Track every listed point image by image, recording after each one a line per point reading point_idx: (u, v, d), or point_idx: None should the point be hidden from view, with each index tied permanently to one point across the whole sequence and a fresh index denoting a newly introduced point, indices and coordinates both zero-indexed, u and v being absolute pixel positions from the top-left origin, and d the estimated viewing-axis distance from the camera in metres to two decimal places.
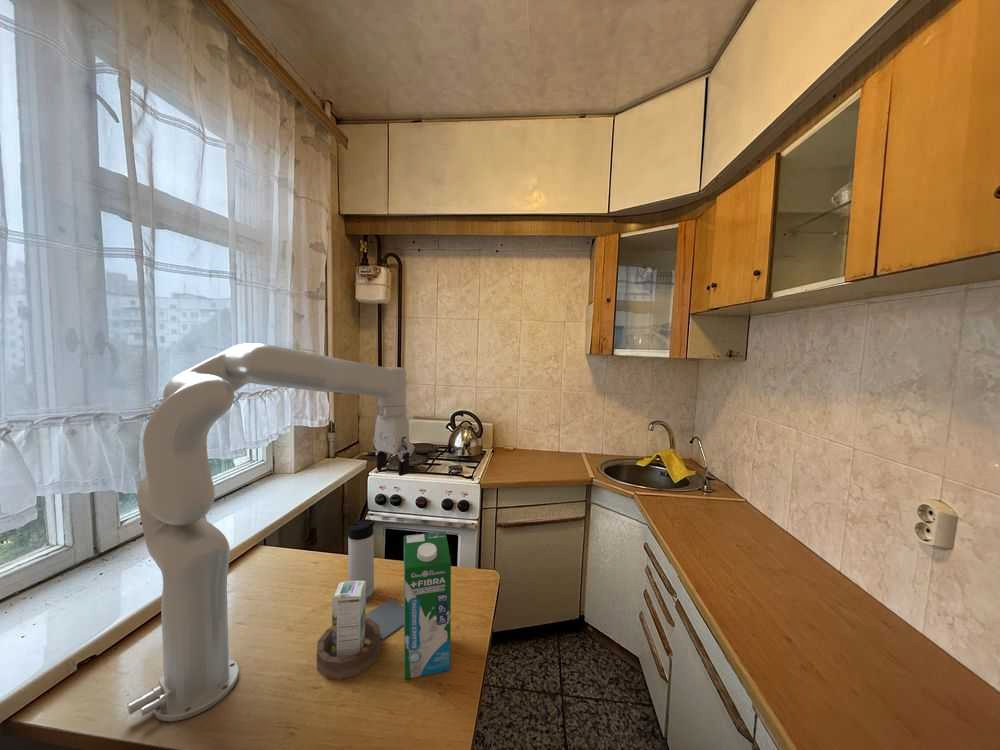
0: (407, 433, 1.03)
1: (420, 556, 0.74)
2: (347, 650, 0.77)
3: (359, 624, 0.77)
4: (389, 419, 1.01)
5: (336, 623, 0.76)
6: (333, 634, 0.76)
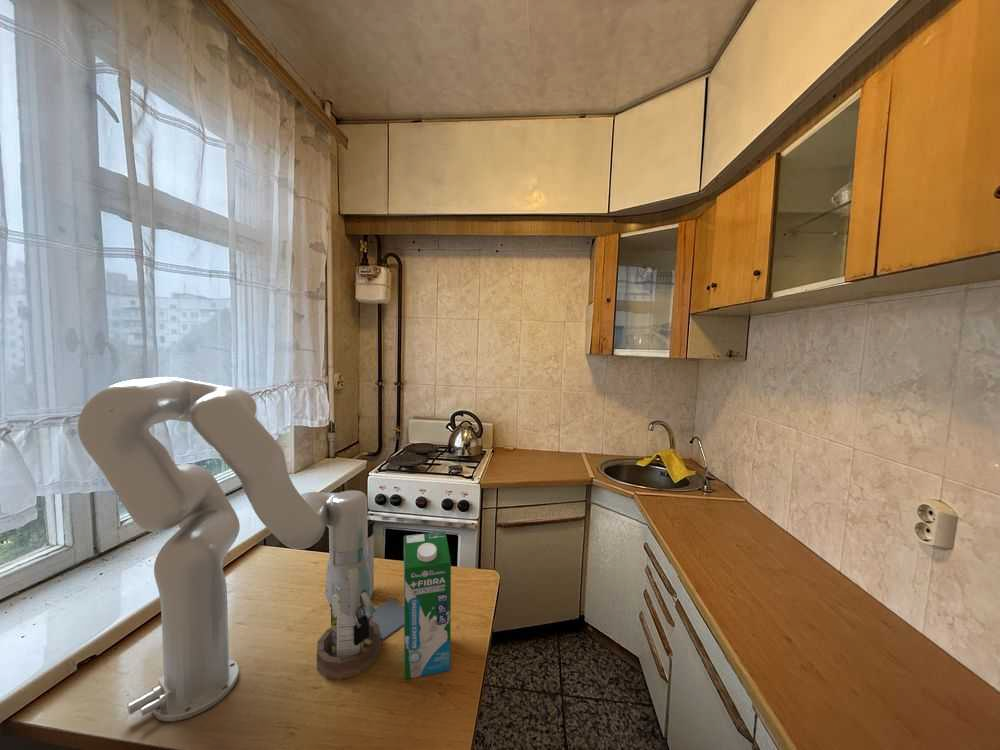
0: (368, 584, 0.77)
1: (420, 556, 0.74)
2: (347, 649, 0.77)
3: None
4: (343, 568, 0.75)
5: (336, 623, 0.76)
6: (333, 634, 0.76)
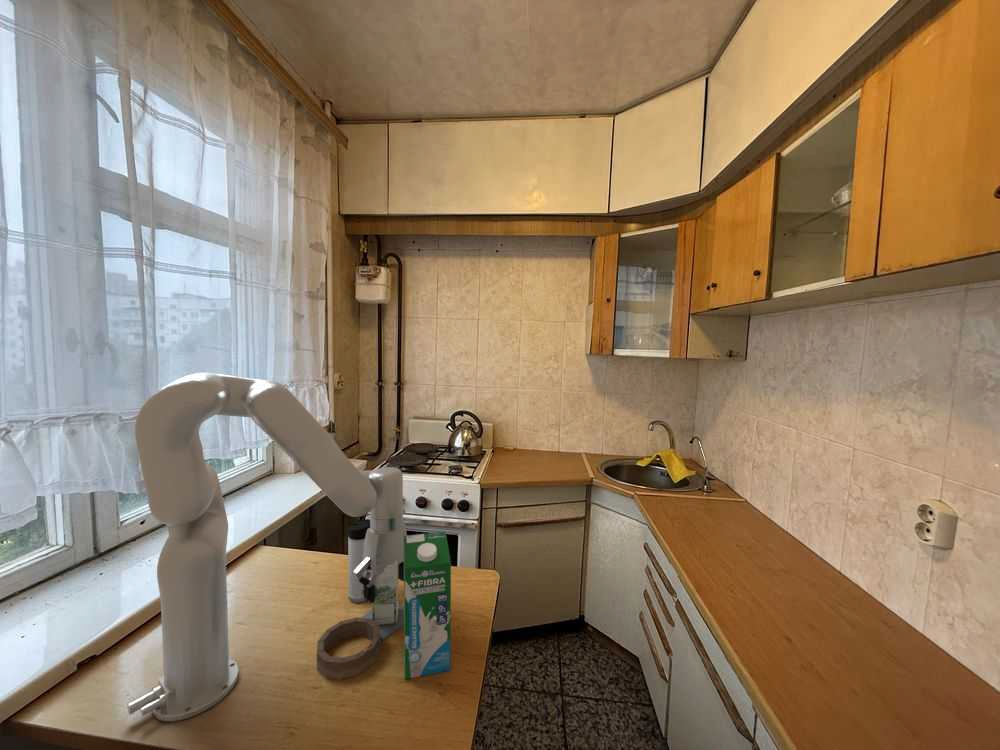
0: (372, 554, 0.85)
1: (420, 556, 0.74)
2: None
3: None
4: None
5: None
6: None
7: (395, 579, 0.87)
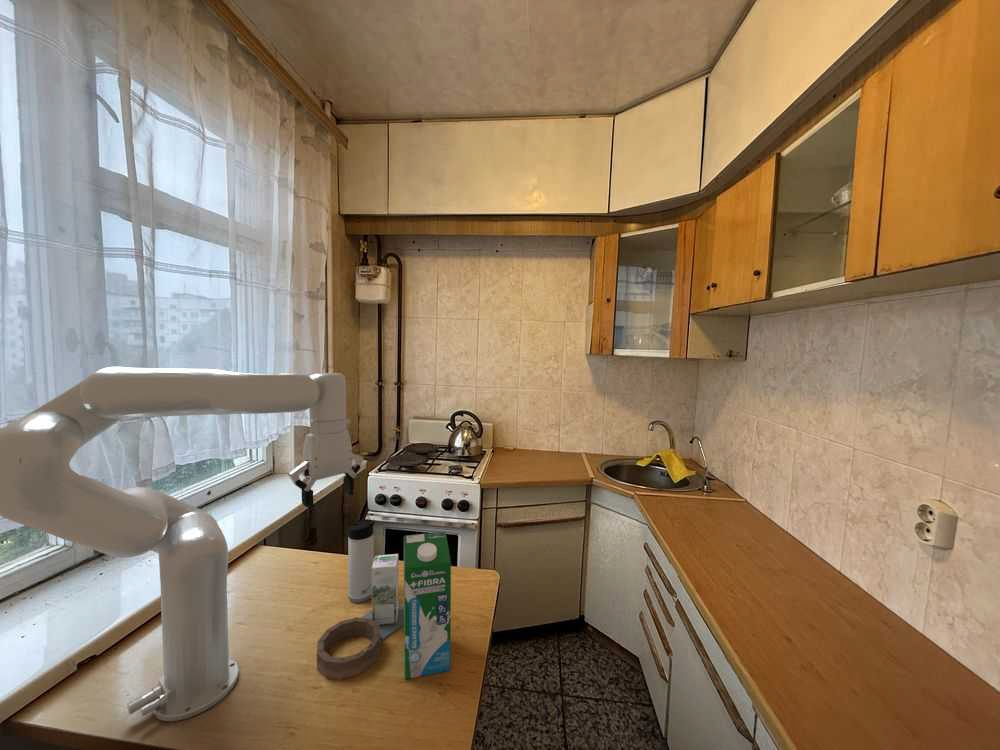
0: (310, 457, 0.81)
1: (420, 556, 0.74)
2: None
3: (372, 592, 0.87)
4: None
5: None
6: None
7: (395, 579, 0.87)
